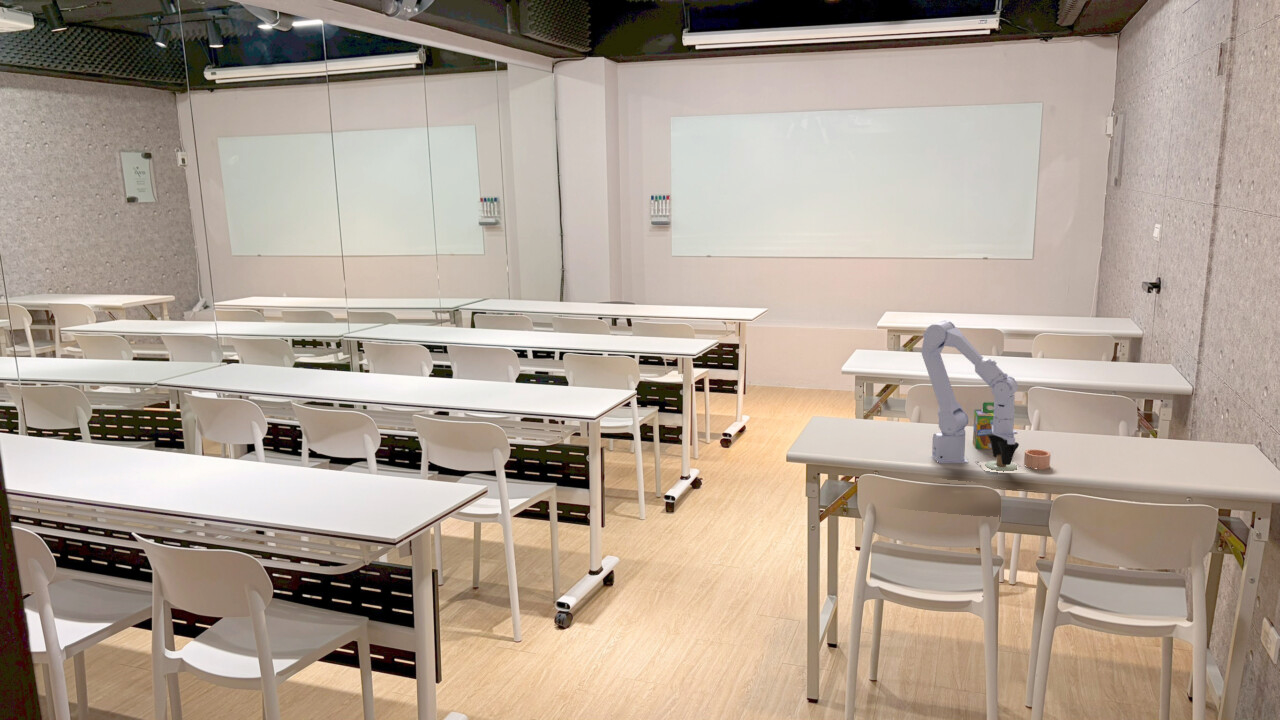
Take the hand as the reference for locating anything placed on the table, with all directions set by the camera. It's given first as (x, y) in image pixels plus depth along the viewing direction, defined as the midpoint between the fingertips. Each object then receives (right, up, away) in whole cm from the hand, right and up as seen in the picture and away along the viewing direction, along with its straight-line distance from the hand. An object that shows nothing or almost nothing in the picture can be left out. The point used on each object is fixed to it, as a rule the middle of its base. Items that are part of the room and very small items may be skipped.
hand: (1001, 460), depth 261 cm
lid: (0, -2, 0) cm, 2 cm away
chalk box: (+5, +2, +23) cm, 24 cm away
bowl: (+11, -2, +1) cm, 11 cm away
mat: (0, -3, 0) cm, 3 cm away
